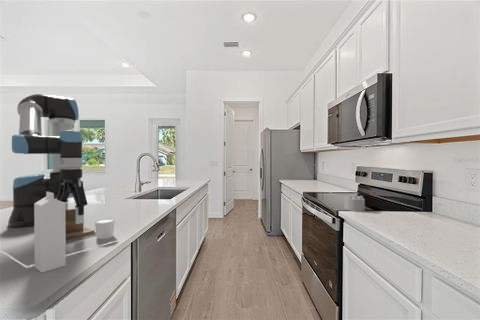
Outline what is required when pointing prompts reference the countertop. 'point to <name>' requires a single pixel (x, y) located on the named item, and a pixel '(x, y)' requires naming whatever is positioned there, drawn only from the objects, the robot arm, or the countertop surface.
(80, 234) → the board
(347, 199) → the lumpy-topped squat cylinder
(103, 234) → the white grey-rimmed cup
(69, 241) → the mat
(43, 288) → the countertop surface
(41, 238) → the milk
